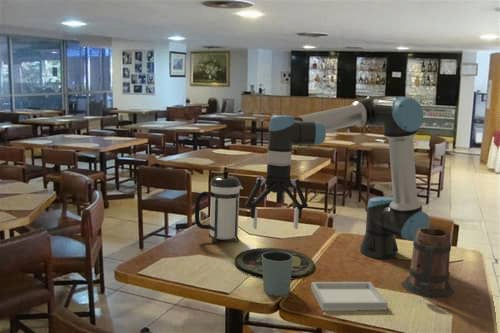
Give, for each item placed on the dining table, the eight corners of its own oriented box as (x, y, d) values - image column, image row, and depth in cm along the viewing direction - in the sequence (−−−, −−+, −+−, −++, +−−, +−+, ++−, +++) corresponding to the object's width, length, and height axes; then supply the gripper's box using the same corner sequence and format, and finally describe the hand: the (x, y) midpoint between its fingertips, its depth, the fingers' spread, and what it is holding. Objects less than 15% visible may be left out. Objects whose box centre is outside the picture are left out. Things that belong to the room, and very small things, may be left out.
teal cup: (292, 297, 158) (294, 261, 156) (260, 296, 158) (261, 260, 156) (290, 285, 168) (292, 251, 166) (260, 283, 168) (261, 249, 166)
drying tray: (369, 288, 167) (370, 281, 167) (386, 310, 151) (387, 302, 151) (311, 289, 165) (311, 281, 165) (322, 311, 149) (323, 303, 149)
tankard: (405, 274, 181) (410, 221, 178) (455, 284, 174) (461, 229, 171) (395, 299, 160) (400, 239, 157) (451, 310, 153) (458, 248, 150)
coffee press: (219, 231, 225) (221, 165, 220) (247, 238, 216) (250, 170, 211) (193, 240, 211) (194, 170, 206) (222, 248, 202) (224, 176, 197)
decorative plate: (226, 270, 175) (243, 243, 204) (225, 275, 175) (243, 248, 204) (311, 280, 169) (317, 251, 198) (311, 285, 170) (317, 256, 199)
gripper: (313, 162, 165) (309, 224, 168) (238, 160, 161) (235, 224, 164) (320, 166, 157) (315, 231, 161) (242, 164, 153) (238, 231, 157)
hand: (275, 227), depth 163 cm, fingers open, 13 cm apart
